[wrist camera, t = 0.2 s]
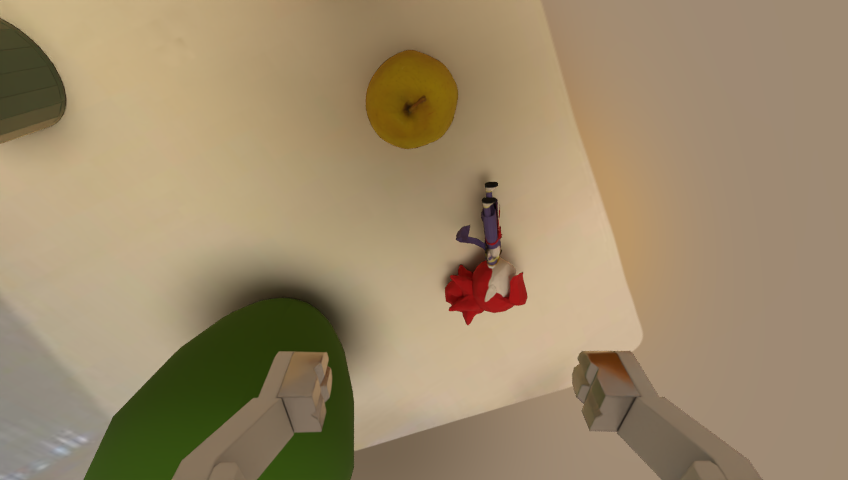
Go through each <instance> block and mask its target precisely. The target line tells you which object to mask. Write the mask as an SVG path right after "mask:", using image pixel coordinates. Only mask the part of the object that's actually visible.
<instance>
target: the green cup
mask: <svg viewBox="0 0 848 480" xmlns="http://www.w3.org/2000/svg"><path fill="white" fill-rule="evenodd" d="M65 104H66V99H65V92H64V88H63V84H62V81H61V79H60V77H59V75H58V73H57V71H56V69H55V68H54V66H53V64H52V63H51V62H50V60H49V59H48V57H47V56H46V55H45V54H44V52H43V51H42V50H41V49H40V48H39V47H38V46H37V45H36V44H35V43H34V42H33V41H32V40H31V39H30V38H29V37H27V36H26V35H25V34H24V33H22V32H21V31H20V30H19V29H17V28H15V27H14V26H12V25H11V24H9V23H8V22H6V21H4V20H2V19H0V144H2V143H5V142H8V141H11V140H13V139H16V138H19V137H22V136H25V135H28V134H31V133H34V132H37V131H39V130H42V129H45V128H47V127H50V126H52V125H54V124H55V123H57V122H58V121H59V120H60V118H61V117H62V115H63V113H64V110H65Z"/></svg>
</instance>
